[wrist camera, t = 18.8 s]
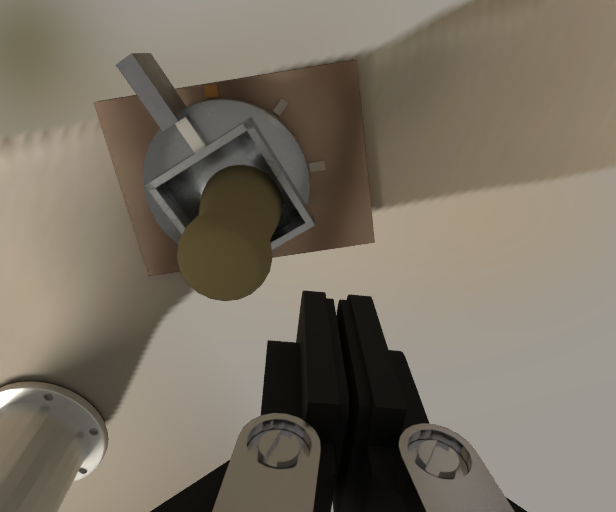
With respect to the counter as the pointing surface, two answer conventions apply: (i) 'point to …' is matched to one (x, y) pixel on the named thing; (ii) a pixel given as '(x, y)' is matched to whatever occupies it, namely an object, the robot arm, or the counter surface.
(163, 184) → the grey handled box
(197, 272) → the cork
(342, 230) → the board
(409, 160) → the counter surface
